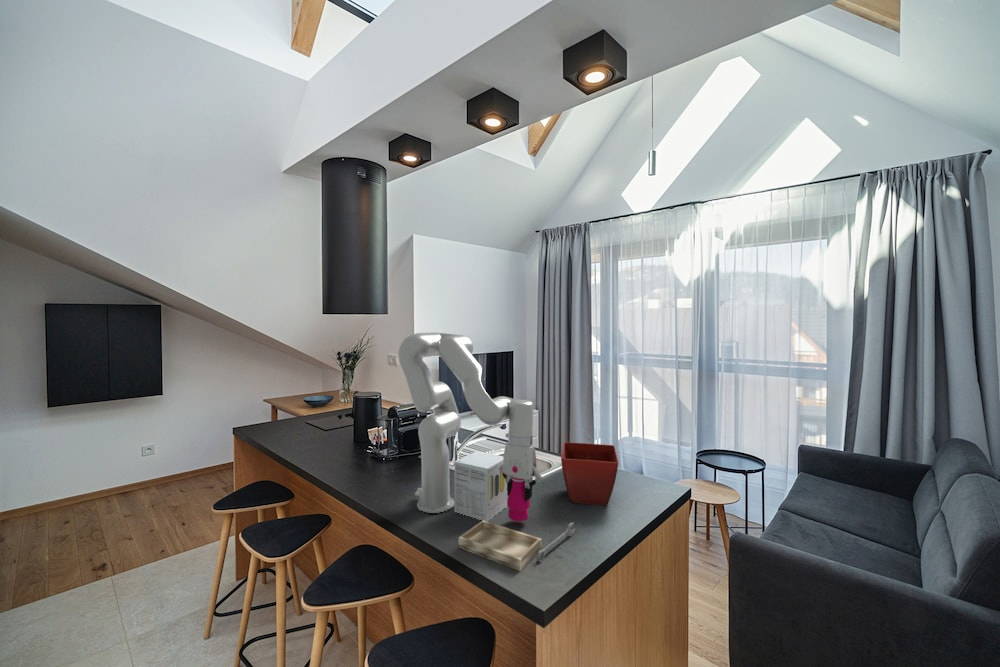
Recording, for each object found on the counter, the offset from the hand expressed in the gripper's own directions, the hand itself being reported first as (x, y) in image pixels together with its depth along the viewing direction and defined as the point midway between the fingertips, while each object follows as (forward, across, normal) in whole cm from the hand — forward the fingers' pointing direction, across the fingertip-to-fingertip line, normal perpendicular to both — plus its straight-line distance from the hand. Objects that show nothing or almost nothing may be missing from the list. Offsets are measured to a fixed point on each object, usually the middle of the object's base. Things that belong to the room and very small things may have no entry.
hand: (519, 496), depth 130 cm
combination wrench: (+9, +16, -6) cm, 19 cm away
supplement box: (+9, -15, +1) cm, 18 cm away
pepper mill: (+7, 0, 0) cm, 7 cm away
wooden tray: (+9, +3, -15) cm, 18 cm away
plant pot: (+9, +12, +30) cm, 33 cm away
